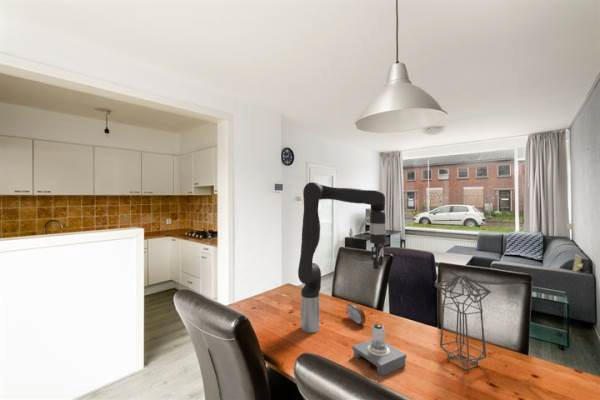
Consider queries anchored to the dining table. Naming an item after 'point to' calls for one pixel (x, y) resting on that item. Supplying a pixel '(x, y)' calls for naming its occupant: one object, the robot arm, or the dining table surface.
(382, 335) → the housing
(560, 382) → the dining table surface
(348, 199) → the robot arm
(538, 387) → the dining table surface
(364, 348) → the stand
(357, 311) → the tin
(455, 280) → the geometric lantern
